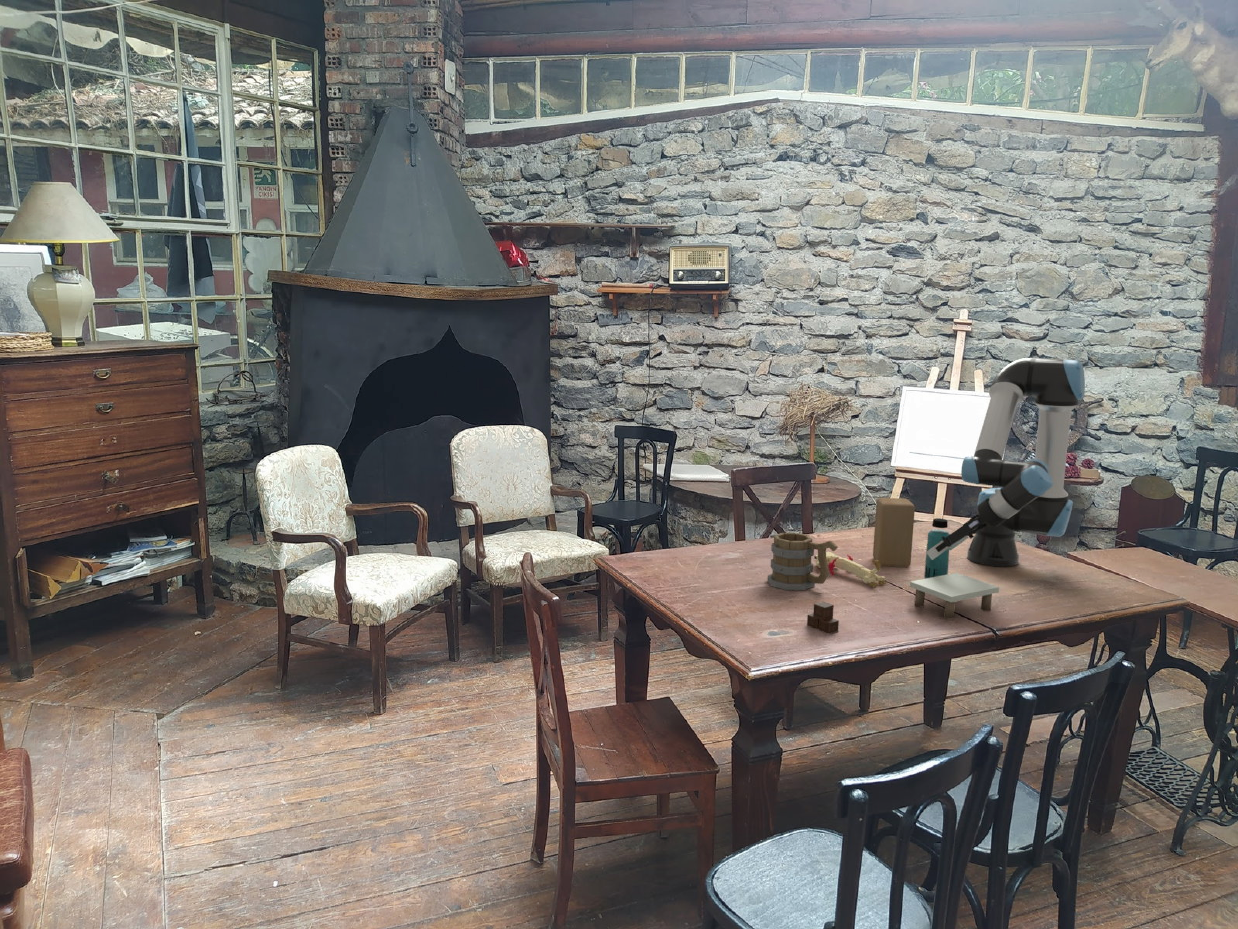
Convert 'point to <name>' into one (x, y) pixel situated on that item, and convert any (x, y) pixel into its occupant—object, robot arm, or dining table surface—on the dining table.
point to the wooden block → (893, 532)
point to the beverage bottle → (940, 562)
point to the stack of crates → (823, 618)
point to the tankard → (797, 561)
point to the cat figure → (854, 568)
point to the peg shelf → (953, 591)
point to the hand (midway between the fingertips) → (938, 551)
